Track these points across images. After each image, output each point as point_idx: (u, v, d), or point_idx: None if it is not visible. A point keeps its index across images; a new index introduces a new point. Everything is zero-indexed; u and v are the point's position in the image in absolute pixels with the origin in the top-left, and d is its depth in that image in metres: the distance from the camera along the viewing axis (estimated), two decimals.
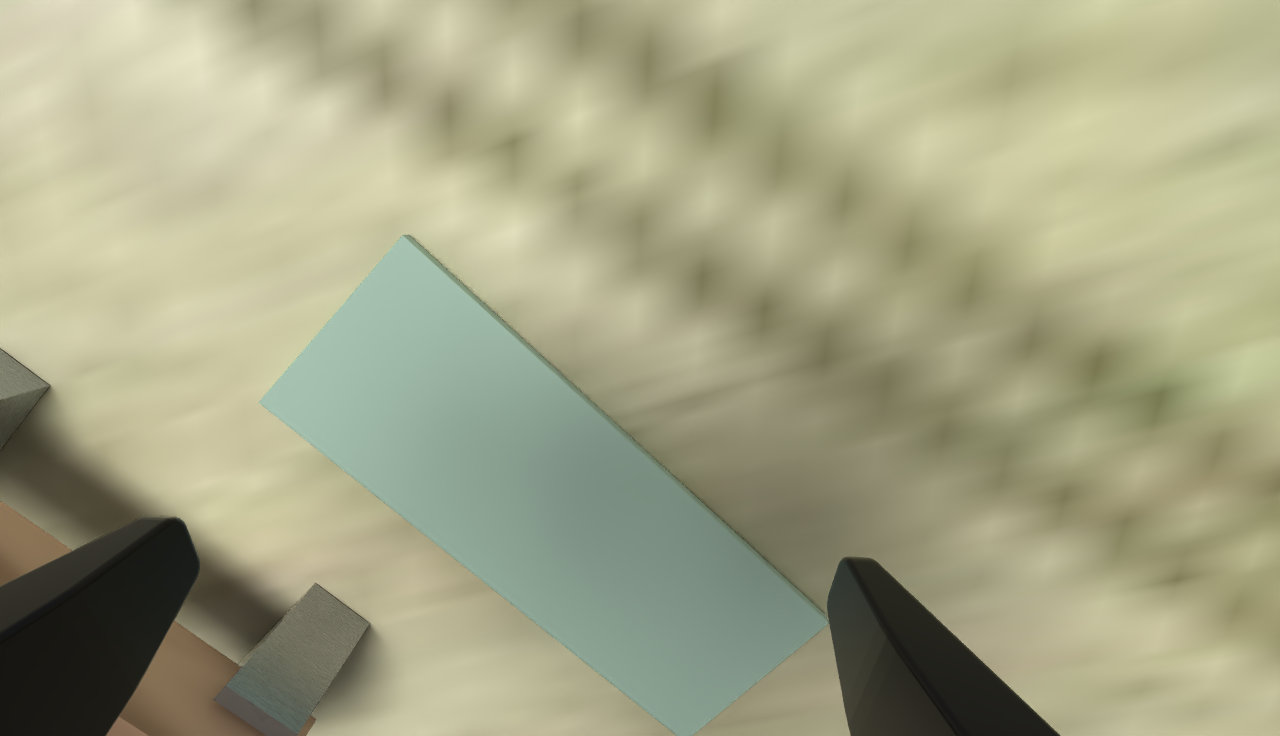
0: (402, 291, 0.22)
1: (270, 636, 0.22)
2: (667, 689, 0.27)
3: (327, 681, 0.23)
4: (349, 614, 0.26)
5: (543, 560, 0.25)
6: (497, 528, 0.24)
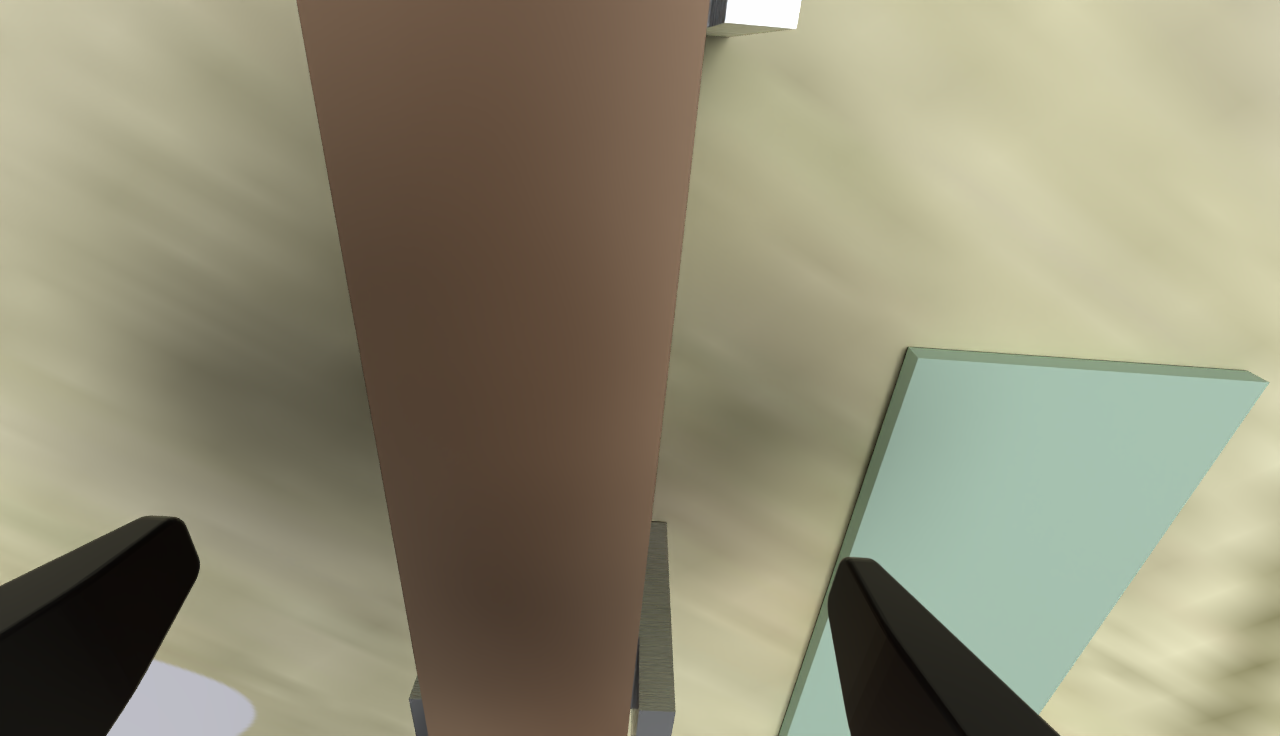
0: (1179, 421, 0.15)
1: (669, 616, 0.15)
2: None
3: None
4: None
5: None
6: None
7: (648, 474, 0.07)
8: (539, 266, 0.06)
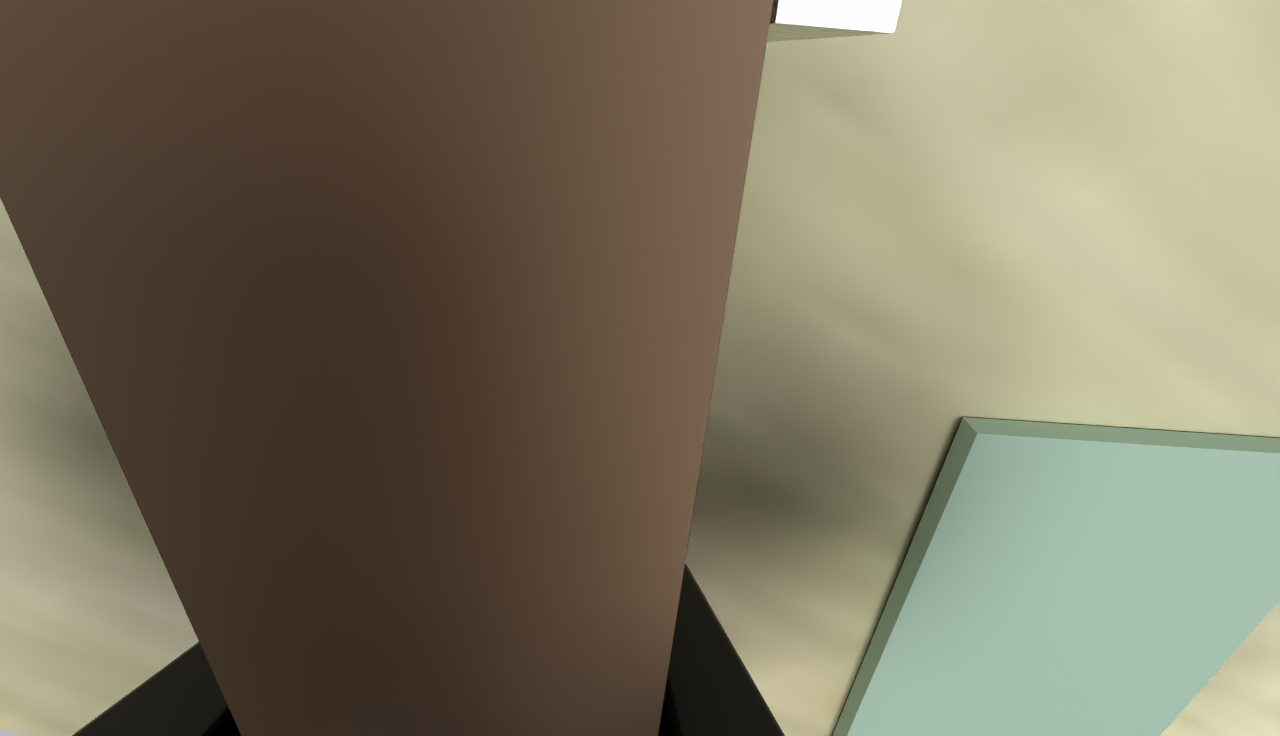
0: None
1: None
2: None
3: None
4: None
5: None
6: (929, 732, 0.17)
7: (647, 720, 0.05)
8: (456, 450, 0.03)
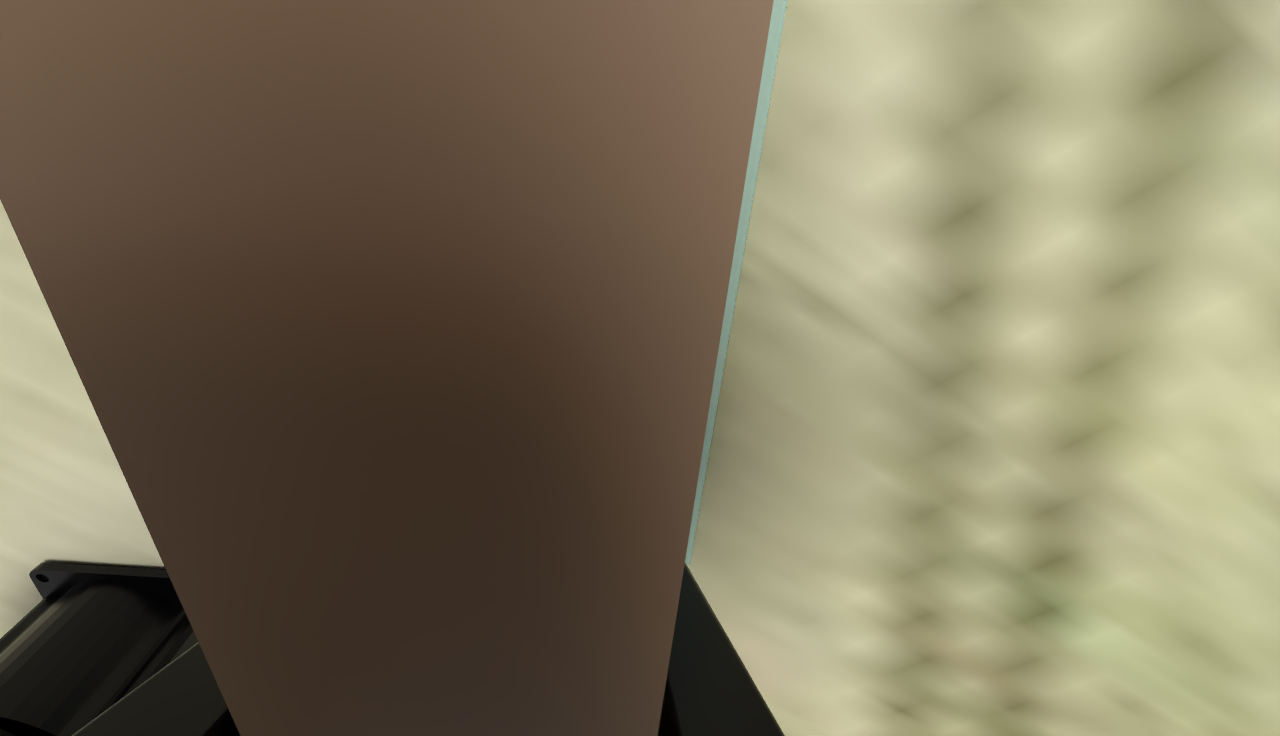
0: None
1: None
2: None
3: None
4: None
5: None
6: None
7: (647, 717, 0.05)
8: (455, 444, 0.03)
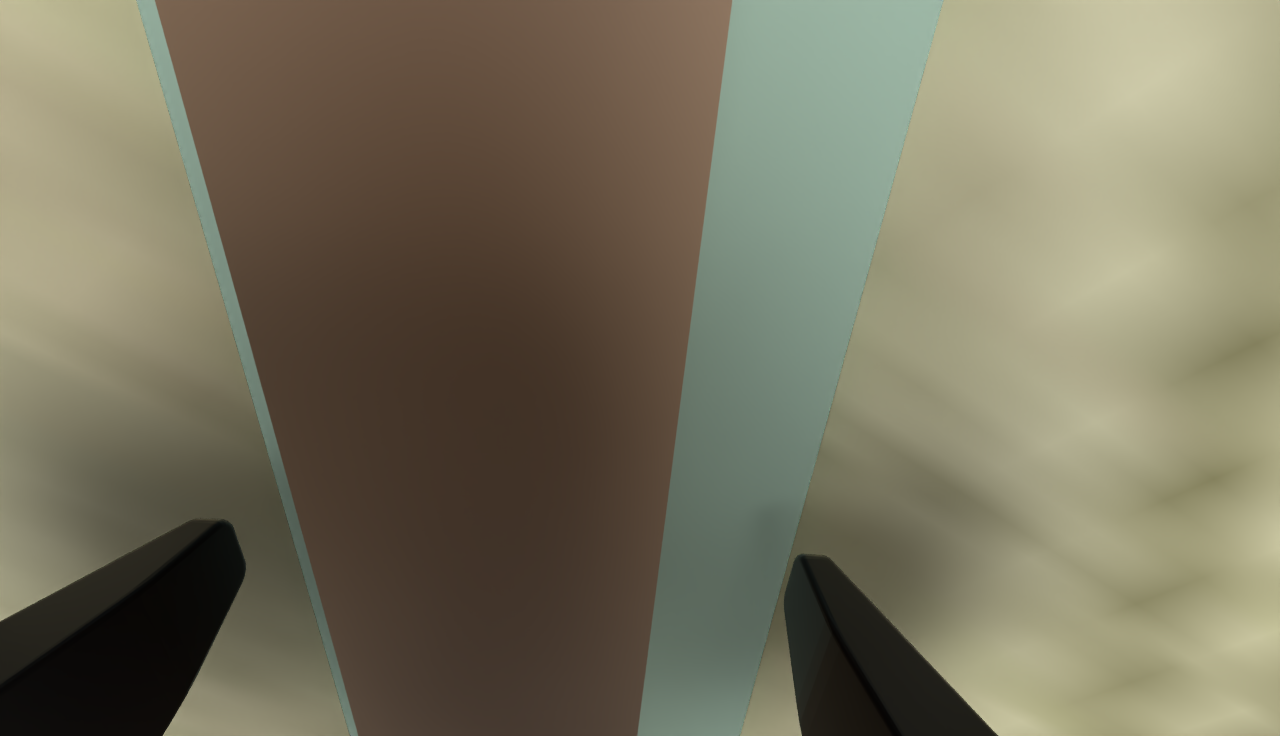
0: None
1: None
2: None
3: None
4: None
5: None
6: None
7: (646, 583, 0.06)
8: (504, 341, 0.05)
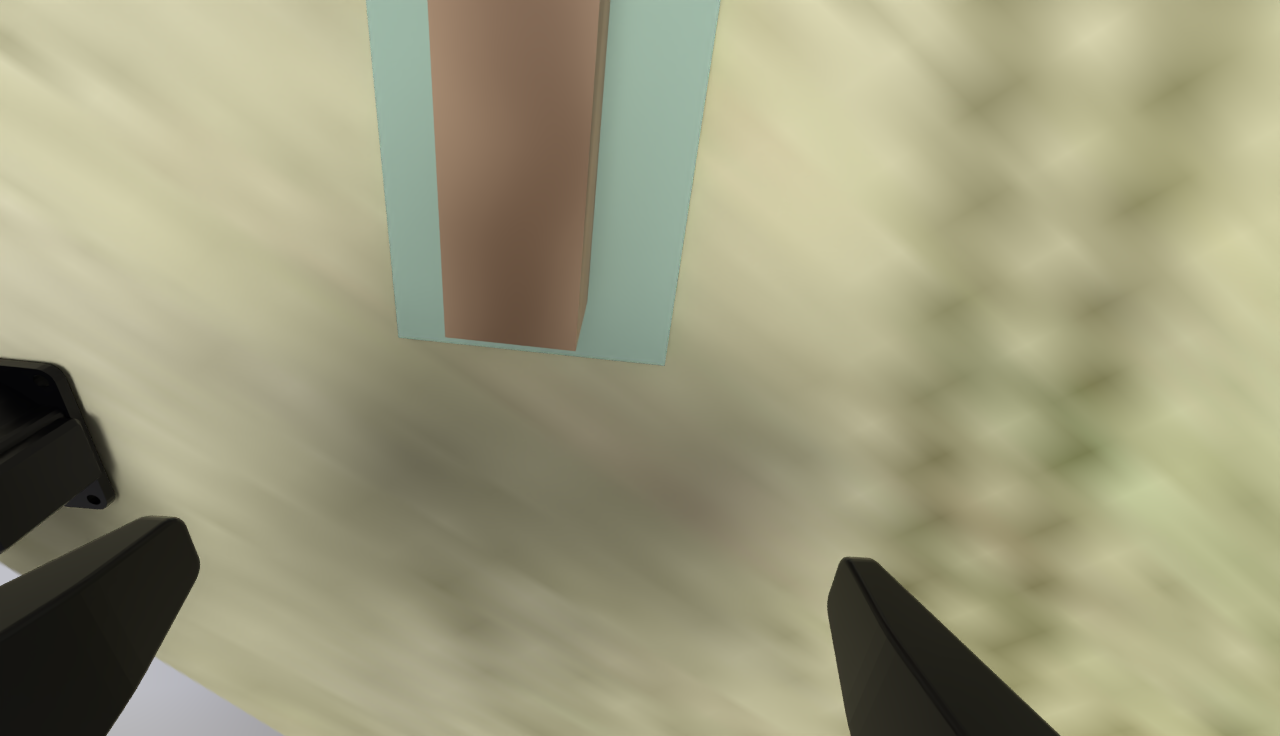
0: None
1: None
2: (440, 266, 0.18)
3: None
4: None
5: None
6: None
7: None
8: None
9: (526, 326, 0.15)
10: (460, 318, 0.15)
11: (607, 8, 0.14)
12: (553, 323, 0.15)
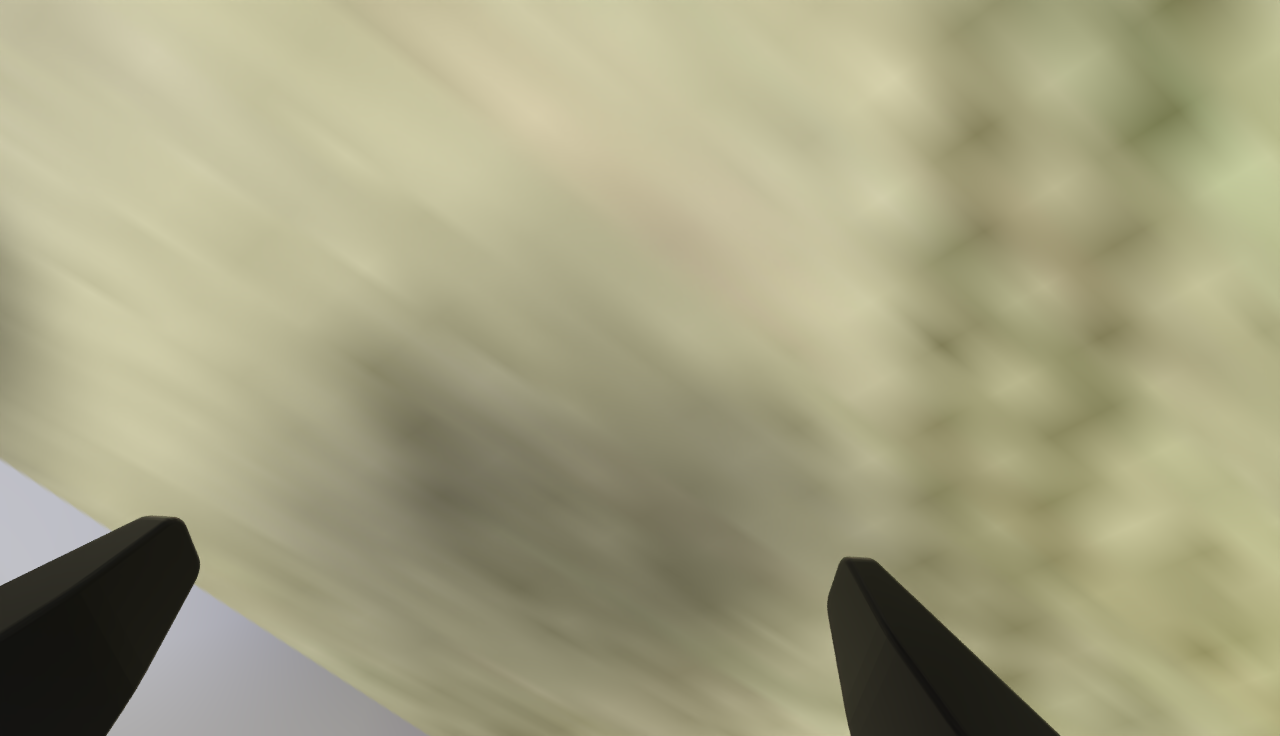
0: None
1: None
2: None
3: None
4: None
5: None
6: None
7: None
8: None
9: None
10: None
11: None
12: None
